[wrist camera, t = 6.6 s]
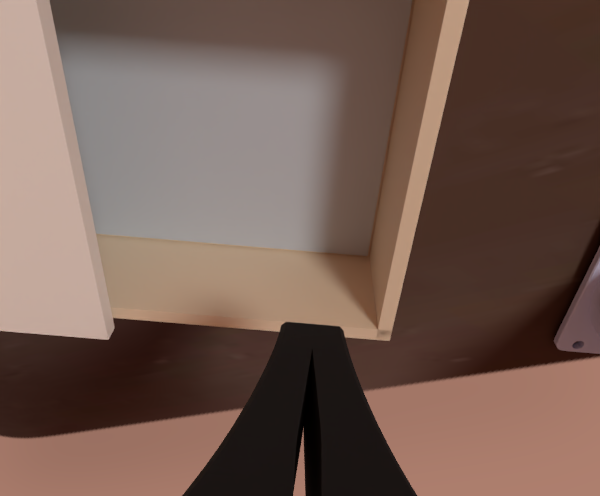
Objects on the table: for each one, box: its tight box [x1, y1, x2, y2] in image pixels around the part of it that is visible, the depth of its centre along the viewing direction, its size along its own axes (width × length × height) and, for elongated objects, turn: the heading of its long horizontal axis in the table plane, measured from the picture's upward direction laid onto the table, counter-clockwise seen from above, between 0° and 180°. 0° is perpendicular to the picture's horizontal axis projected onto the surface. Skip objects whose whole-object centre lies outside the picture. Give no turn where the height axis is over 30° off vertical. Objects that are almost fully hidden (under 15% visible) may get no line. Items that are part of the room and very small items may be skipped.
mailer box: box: [49, 0, 469, 341], centre depth 16 cm, size 16×12×5 cm
